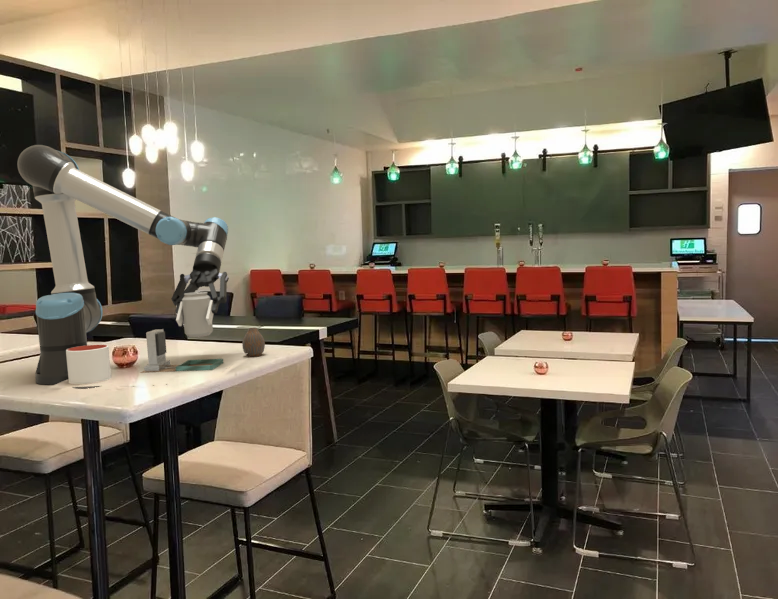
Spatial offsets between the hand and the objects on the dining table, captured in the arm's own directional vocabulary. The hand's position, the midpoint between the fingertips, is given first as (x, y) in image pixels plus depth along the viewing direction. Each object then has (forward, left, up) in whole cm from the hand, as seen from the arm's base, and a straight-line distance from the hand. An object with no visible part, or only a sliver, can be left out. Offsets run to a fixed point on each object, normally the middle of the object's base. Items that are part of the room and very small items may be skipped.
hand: (193, 322), depth 170 cm
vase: (+9, +27, -15) cm, 32 cm away
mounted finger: (-12, +3, -13) cm, 18 cm away
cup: (-25, -9, -15) cm, 31 cm away
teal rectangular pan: (-5, +3, -14) cm, 16 cm away
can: (0, +4, -4) cm, 6 cm away
